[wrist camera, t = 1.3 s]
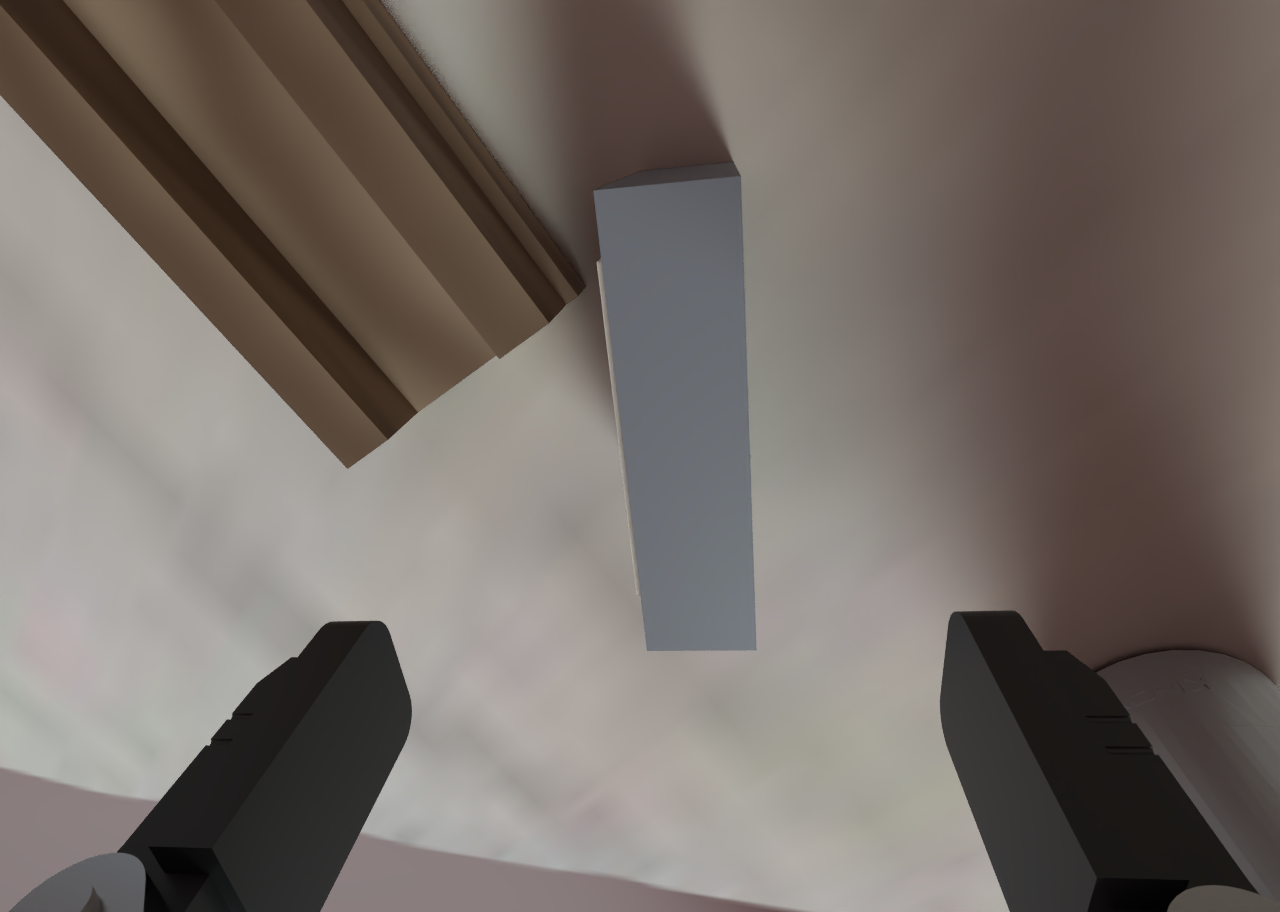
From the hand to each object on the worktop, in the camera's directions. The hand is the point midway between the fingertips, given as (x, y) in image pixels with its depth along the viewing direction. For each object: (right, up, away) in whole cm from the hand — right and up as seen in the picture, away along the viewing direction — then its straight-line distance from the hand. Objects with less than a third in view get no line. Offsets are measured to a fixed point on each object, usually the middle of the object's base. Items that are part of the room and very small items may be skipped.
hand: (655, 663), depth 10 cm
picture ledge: (-11, +12, +13) cm, 21 cm away
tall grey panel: (+2, +7, +15) cm, 16 cm away
